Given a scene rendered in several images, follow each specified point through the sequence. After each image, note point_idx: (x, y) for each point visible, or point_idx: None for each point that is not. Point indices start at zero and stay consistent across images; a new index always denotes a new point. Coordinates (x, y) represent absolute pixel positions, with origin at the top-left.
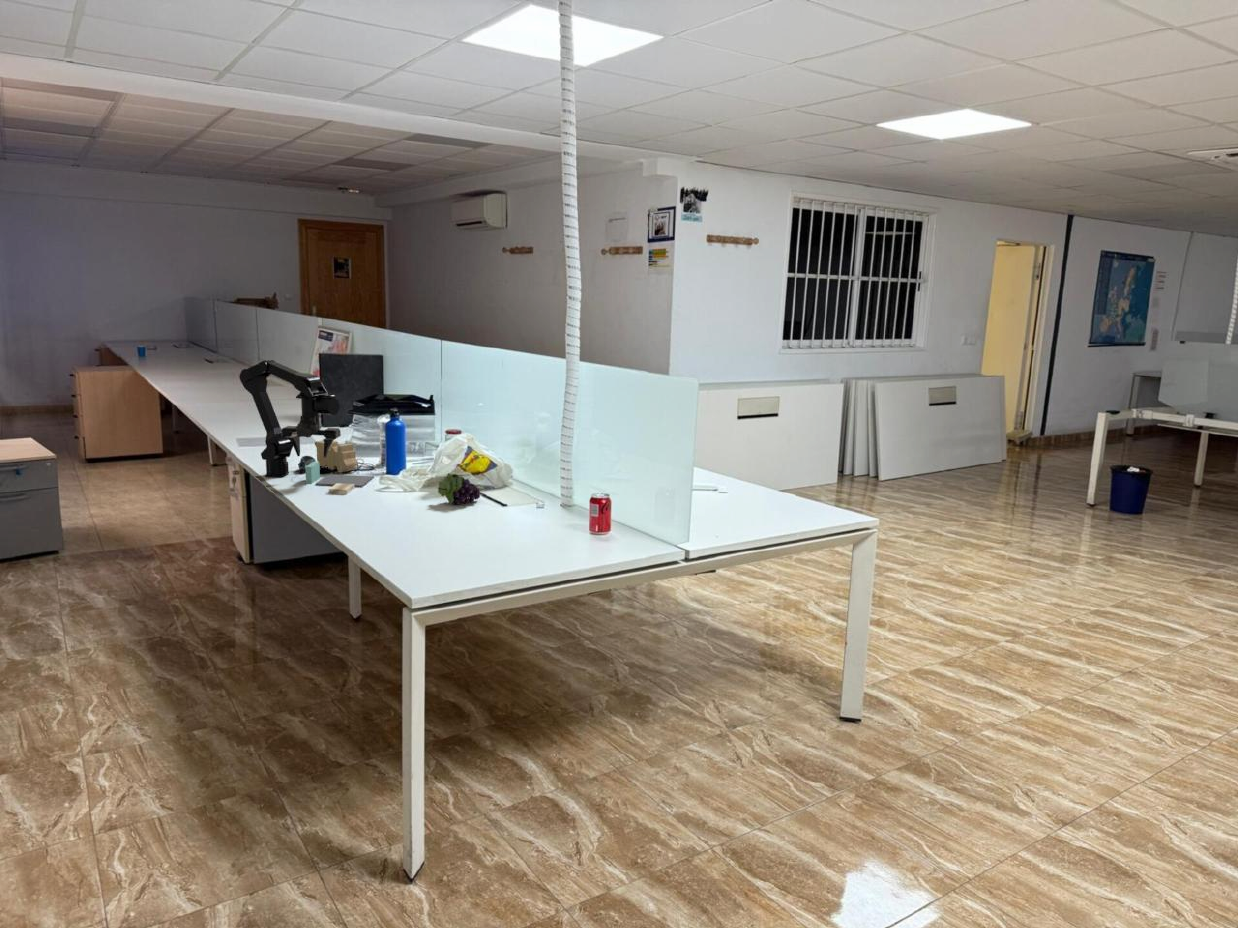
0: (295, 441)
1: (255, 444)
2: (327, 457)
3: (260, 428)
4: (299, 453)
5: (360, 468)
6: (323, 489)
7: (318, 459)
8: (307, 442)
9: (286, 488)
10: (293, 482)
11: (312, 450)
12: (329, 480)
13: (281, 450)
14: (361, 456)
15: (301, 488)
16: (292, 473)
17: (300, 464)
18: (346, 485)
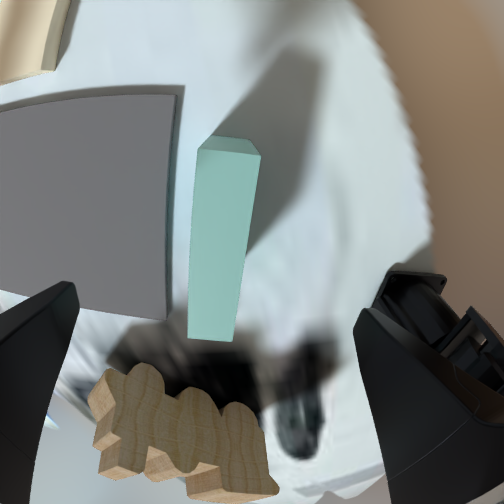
0: (484, 427)
1: None
2: (213, 436)
3: (366, 488)
4: (362, 345)
5: None
6: (113, 15)
7: (258, 434)
8: (310, 487)
9: (338, 23)
10: (329, 165)
11: (297, 475)
12: (112, 187)
13: (468, 364)
14: None
15: (248, 16)
16: (345, 339)
17: (319, 422)
18: (2, 47)
